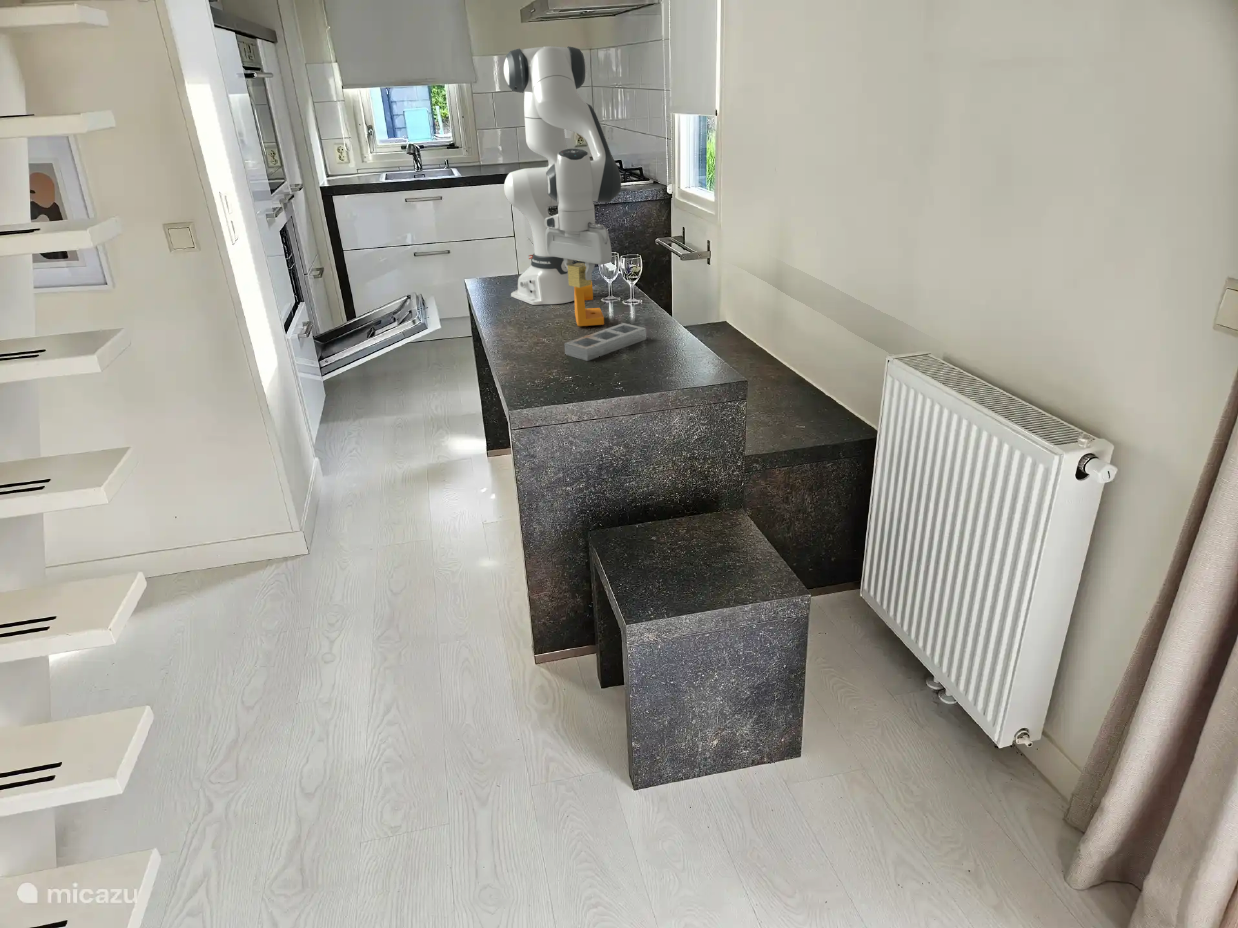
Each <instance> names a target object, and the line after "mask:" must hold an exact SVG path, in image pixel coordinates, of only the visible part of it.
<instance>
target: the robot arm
mask: <svg viewBox="0 0 1238 928" xmlns="http://www.w3.org/2000/svg"><path fill="white" fill-rule="evenodd" d="M587 69H588V68H587V62H586V60H585V57H584V53H583V52H582V51H581V49H580V48H577V47H573V46H566V47H563V46H555V45H554V46H553V45H552V46H550V45H549V46H548V45H546V46H545V45H544V46H543V47H542V46H539V47H529V48H524V49H523V48H522V49H521V48H517V49H512V50H510V51H508V53H507V54H506V56H505V60H504V62H503V75H504V80H505V81H506V84H507V86H508V88H509V89H510V90H511V91H513V92H515V93H521V94H523V95H524V97H523V98H524V99H523V113H524V114H523V116H524V130H525V141H526V145H527V147H528V148H529V150H530V151H532V152H533V153H535V154H537V155H539V156H542V158H543V157H544V158H545V159H547V162H548V166H545V167H531V168H527V167H526V168H522V169H517V170H514V171H511V172H508V174H507V175H506V178H505V180H504V183H503V192H504V196H505V198H506V200H507V202H508V203H509V204H511V206H513V207H514V208H516V209H517V210H518V211H519V212H520V213H522V215H523V216H524V217H525V220H527V222H528V224H529V227H530V230H531V235H532V236H531V237H532V244H533V254H529V255H528V257H529V258H528V259H529V260H531V262H530V266H529V267H527V268H526V270H525V271H524V272H523V273H522V274H520V275H519V276H518V278H517V279H518V280H517V290H513V291H512V292H511V293H510V297H511V298H514V299H517V300H519V301H521V302H525V303H527V304H530V305H533V306H539V305H557V304H565V303H570V302H573V301H574V302H575V300H574V286H569V281H568V265H571V264H574V263H573V262H574V261H575V262H576V261H578V262H581V263H584V264H585V266H587V267H586V271H585V272H583V279H584V280H591V281H592V279H593V271H594V269H595V267H596V265H600V266H601V265H606V264H610V263H611V262H612V258H613V255H612V254H613V253H612V245H611V244H612V243H611V238H610V236H609V231H608V229H607V228H606V226H604V224H601V223H596V217H595V213H596V212H595V204H594V202H599V203H602V202H604V203H606V202H607V203H611V201H612V200H614V199H615V198H616V197H617V196H618V195H619V193H620V192H621V190H622V177H621V172H620V170H619V166H618V165H617V162H616V160H615V159H614V157H613V155H612V153H611V150H610V147H609V144H608V142H607V139H606V136H605V133H604V132H603V128H602V126H601V124H600V120H599V119H598V116H597V114H596V112H595V110H594V107H593V106H592V105H591V104H589V103H587V102H586V101H585V100H584V99H583V98H582V97H581V96H580V94H579V93H578V91H577V90H578V89H580V88H581V87H582V86H583V85H584V83H585V80H586V76H587V72H588V71H587ZM565 130H566V131H570V132H573V133H574V134H575V133H576V134H578V135H579V136H581V137H582V138H583V139H584V140H585V141H586V143H587V146H588V148H589V152H590V154H591V157H592V160H591V158H590V154H589V152H588V151H586V150H584V149H581V148H568V146H567V141H566V134H565V133H566V132H565ZM556 206H557V213H556V214H554V215H551V214H549V212H548V207H556Z"/></svg>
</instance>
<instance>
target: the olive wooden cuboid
mask: <svg viewBox="0 0 1238 928" xmlns="http://www.w3.org/2000/svg"><path fill="white" fill-rule="evenodd" d="M586 267H587V266H585V262H576V263H573V264H571V265H568V281H569V286H574V287H579V288H581V287H584V286H588V285H591V281H592V279H591V280H584V279H583V272H585V271H586Z"/></svg>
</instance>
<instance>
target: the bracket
mask: <svg viewBox="0 0 1238 928" xmlns="http://www.w3.org/2000/svg"><path fill="white" fill-rule="evenodd" d="M593 287H594V286H593V281H592V280H591V285H588V286H584V287H581V288H579V287H574V317H575V322H576V325H577V327H589V326H601V325H605V316H604V314H603V312H602V310H601V308H600V307H594V308H593V307H590V308H586V302H585V301H593V300H594V299H593V298H594V289H593Z"/></svg>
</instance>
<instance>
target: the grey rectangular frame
mask: <svg viewBox="0 0 1238 928" xmlns="http://www.w3.org/2000/svg"><path fill="white" fill-rule="evenodd" d="M646 340H647V328H646V327H643V326H638V325H634V324H630V323H625V322H622V323H620V324H617V325H614V326H610V327H608V328H605V329H602V330H599V331H596V332H593V333H591V334H587V335H584V336H581V337H579V338H575V339H572V340H569V341H567V342H565V343H564V344H563V345H564V355H565V354H566V356H569V357H572V358H577V359H579V360H583V361H591V360H595V359H597V358H599V356H600V357H602V356H604V355H608V354H610V353H613V352H615V351H619V350H621V349H623V348H626V347H629V346H631V345H635V344H637V343H640V342H642V341H643V342H644V341H646Z"/></svg>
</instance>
